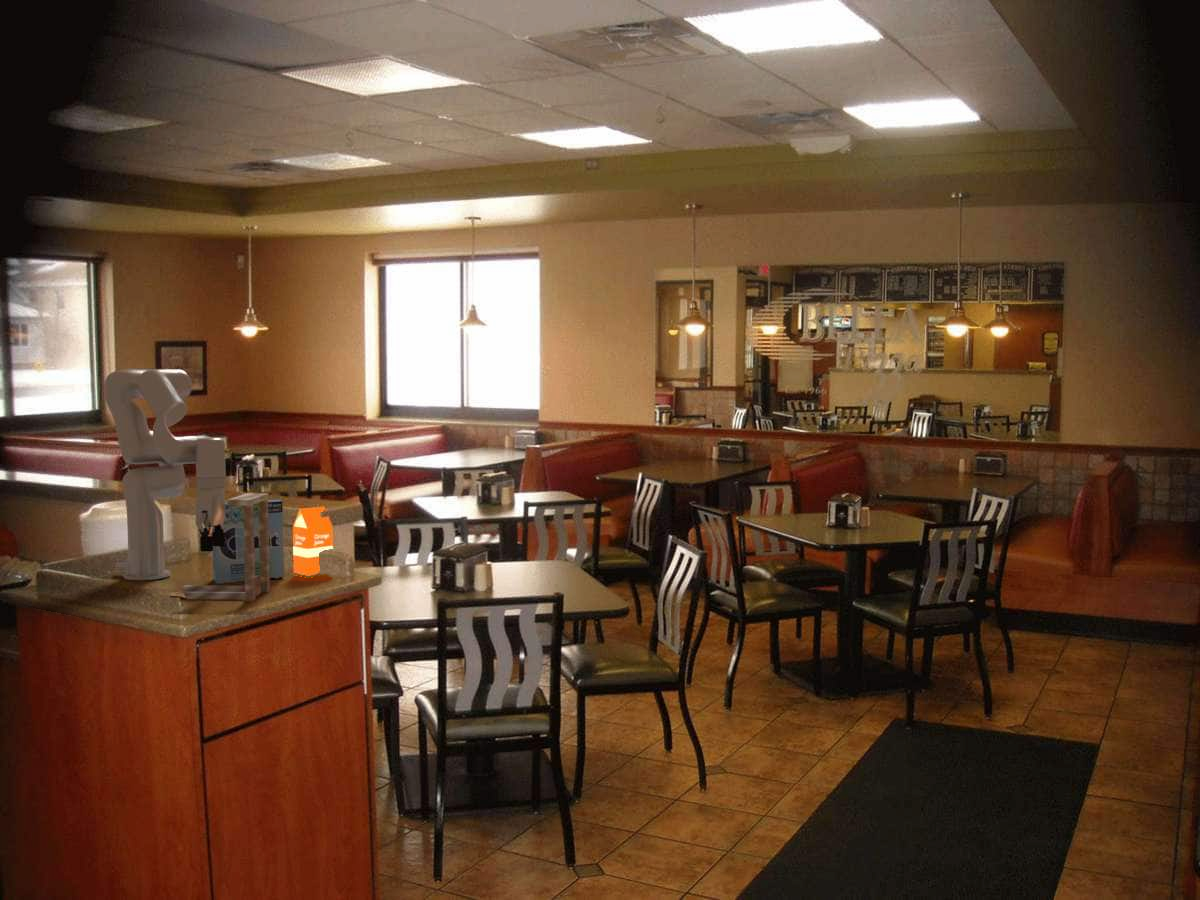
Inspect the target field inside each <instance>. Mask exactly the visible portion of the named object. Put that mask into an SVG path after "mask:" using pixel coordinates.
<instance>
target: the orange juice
mask: <svg viewBox="0 0 1200 900" xmlns="http://www.w3.org/2000/svg"><path fill="white" fill-rule="evenodd" d="M324 510H326V507H325V506H316V507H305V508H300V509H299V510H298V512H297V516H296V518H295V520H294V523H293V524H292V525H293V526H292V546H293V547H292V554H293V555H292V557H293V574H294V573H297V574H301V575H306V576H311V575H315V574H317V573H319V571H320V565H319V553H320V552H322V551H324V550H329V549H333V550H334V543H333V542H334V540H333V537H334V536H333V524H332V522H331V520H330V517H329V515H328V516H327V517H323V518H322V517H321V516H320V513H321V512H323V511H324ZM326 511H327V510H326Z"/></svg>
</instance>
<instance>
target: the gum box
mask: <svg viewBox="0 0 1200 900" xmlns="http://www.w3.org/2000/svg"><path fill="white" fill-rule="evenodd" d="M283 504H284V503H283V500H281V499H279V498H278V499H268V519H269V567H270V578H275V579H280V578H279V577H285V574H286V573H285V545H284V544H285V543H284V540H285V539H284V507H283V506H284V505H283ZM225 508H226V518H225V524H224V528H225V531H222V532H224V538H225V545H224V546H213V551H212V559H213V560H212V566H213V569H212V570H213V573H212V574H213V582H214V581H215V582H216V584H225V583H224V582H233V583H236V582H235V581H244V582H245V562H244V517H243V506H230V505H227V502H225ZM253 510H254V556H255V576H260V550H259V503H256V504H253ZM212 532H215V531H213V529H212ZM285 578H286V577H285ZM215 582H214V583H215Z"/></svg>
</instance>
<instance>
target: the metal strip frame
mask: <svg viewBox="0 0 1200 900" xmlns="http://www.w3.org/2000/svg"><path fill="white" fill-rule="evenodd" d="M269 494H270V493H268V492H267V493H266V492H265V493H263V492H262V493H257V492H256V493H254V492H252V493H251V492H247V493H243V494H241V495H237V496H234V497H232V498H231V497H230V498H228V499H226V500H227V501H226V503H227V505H230V506H243V517H244V562H245V581H244V585H182V587H181V588H182V590H181V592H182V593H184V594H185V596H186V598H187V599H186V600H230V601H231V600H235V601H236V600H241V601H243V600H244V602H254V601H256V597H258V596H260V595H261V593H269V592H270V591H271V579H270V567H269V519H268V500H270V498H269V497H270V495H269ZM256 503H259V550H260V576H255V556H254V510H253V504H256Z"/></svg>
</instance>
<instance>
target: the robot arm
mask: <svg viewBox="0 0 1200 900" xmlns="http://www.w3.org/2000/svg"><path fill="white" fill-rule="evenodd" d="M192 390H193V382H192V379H191V377H190V375H189V374H188V373H187V372H186V371H184V370H182V369H177V368H175V369H174V368H170V369H169V368H166V369H165V368H159V369H158V368H156V369H155V368H154V369H138V368H137V369H132V368H131V369H130V368H129V369H120V370H115V371H113V372H110V373H109V374H108V375H107V376H106V377H105V380H104V386H103V393H104V401H105V402H106V405H107V407H108V410H109V412H110V413H111V415H112V418H113V420H114V425H115V431H116V435H117V439H118V444H119V449H120V453H121V457H122V459H123V460H124V462H125V463H127V464H130V465H146V464H147V465H151V464H158V466H152V467H151V466H147V467H138V468H133V469H130V470H129V471H127V472H126V473H125V474H124V476H123V478H122V480H121V481H122V484H121V485H122V486H121V487H122V490H123V496H124V499H125V506H126V524H127V552H128V553H127V555H128V556H127V557H128V558H127V559H128V561H125V562H116V563H115V566H114V567H115V569H116V571H124V573H123V574H122V579H124V580H125V581H126V580H127V581H153V580H160V579H164V578H168V577H170V576H171V571H170V570H169V569H165V549H164V548H165V546H164V544H165V543H164V542H165V541H164V517H163V513H162V510H161V509H160V507H159V506H158V505H157V503H156V501H158V500H159V501H160V500H167V499H175V498H179V497H181V496H183V495H184V493H185V491H186V488H187V477H186V473H185V469H184V465H190V464H195V477H196V479H195V481H196V482H195V483H196V484H195V485H196V486H195V487H196V490H197V492H196V500H195V501H196V502H195V526H196V527H197V528H198V531H199V539H200V540H199V541H200V542H199V544H200V545H199V547H200V548H199V549H200V551H201V552H209V553H210V552H213V546H224V545H225V538H224V532H222V531H225V528H224V524H225V518H226V508H225V503H226V498H225V490H226V489H227V478H226V477H227V475H226V473H227V471H226V442H225V440H224V439H223V438H221V437H211V436H208V435H184V436H182V435H179V436H175V435H174V434H173V433H171V431H170V429H169V428H170V427H171V426H174V425H175V424H177V423H178V422H180V421H181V420H182V419H184V417H185V416H186V414H187V411H188V408H187V407H188V406H187V404H186V403H185V401H184V400H183V399H186V398H187V397H189V396H190V395H191V392H192ZM135 399H136V400H139V399H140V400H144V401H145V402H146V403H147V406H149V408H150V410H151V411H152V413H153V415H154V416H155V418H156V419H155V420H154V423H153V425H152V430H151V429H150V428H149V426H148V420H147V417H146V414H145V412H144V411H143V409H141V407H140V406H139V405H137V403H135V402H134V401H133V400H135ZM212 529H213V531H215V532H212Z"/></svg>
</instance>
